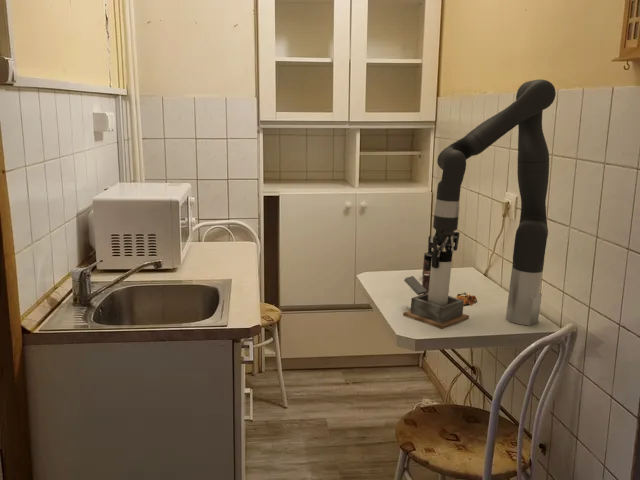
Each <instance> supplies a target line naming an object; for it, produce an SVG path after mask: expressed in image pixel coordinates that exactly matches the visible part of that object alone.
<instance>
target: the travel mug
mask: <svg viewBox="0 0 640 480" xmlns="http://www.w3.org/2000/svg"><path fill="white" fill-rule="evenodd" d="M437 252H438V249H437ZM439 257H440V259H439V268H433V267H432V261H431V272H430V282H429V293H428V302H430V303H433V304H436V305H439V306H444V305H447V303H448V296H449V293H450V281H451V272H452V262H453V253H452V252H449V251H448V252H446V251H445V250H443V251H441V253H440V256H439Z"/></svg>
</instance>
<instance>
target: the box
mask: <svg viewBox="0 0 640 480" xmlns="http://www.w3.org/2000/svg"><path fill="white" fill-rule="evenodd" d="M430 272H431V271H423V270H422V273H423V279H422V281H421V282H422V283H421V285H422V286H423V287H424V288H425V289H426V290H427V291H426V293H429V282H430ZM424 294H425V293H424Z"/></svg>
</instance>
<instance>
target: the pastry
mask: <svg viewBox="0 0 640 480" xmlns="http://www.w3.org/2000/svg"><path fill="white" fill-rule="evenodd" d="M454 298H457V299H461V300H464V305H467V304H468V305H469V306H473V305H474V304H475V301H476V302H478V299H477V297H476V295H471V293H469V292H466V291H464V292H460V293H457V295H456V296H455V297H454Z"/></svg>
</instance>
